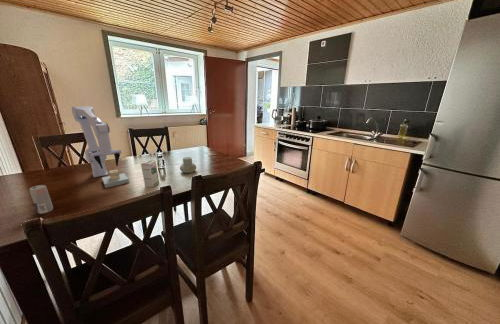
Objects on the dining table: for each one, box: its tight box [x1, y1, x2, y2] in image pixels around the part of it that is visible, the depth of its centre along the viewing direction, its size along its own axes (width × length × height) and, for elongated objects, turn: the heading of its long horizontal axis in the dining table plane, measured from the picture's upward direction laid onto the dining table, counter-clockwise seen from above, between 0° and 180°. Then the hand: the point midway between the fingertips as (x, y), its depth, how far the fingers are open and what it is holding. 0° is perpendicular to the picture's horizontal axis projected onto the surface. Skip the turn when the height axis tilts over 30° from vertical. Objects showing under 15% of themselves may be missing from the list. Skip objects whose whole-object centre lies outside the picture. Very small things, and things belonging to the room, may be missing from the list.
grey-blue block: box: [101, 173, 130, 189], centre depth 124 cm, size 12×12×3 cm
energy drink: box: [29, 184, 54, 215], centre depth 91 cm, size 5×5×12 cm
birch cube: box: [108, 169, 120, 180], centre depth 123 cm, size 4×4×4 cm
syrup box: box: [140, 159, 160, 188], centre depth 119 cm, size 6×6×14 cm
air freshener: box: [179, 156, 197, 174], centre depth 141 cm, size 11×8×10 cm
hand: (109, 166), depth 121 cm, fingers open, 7 cm apart
